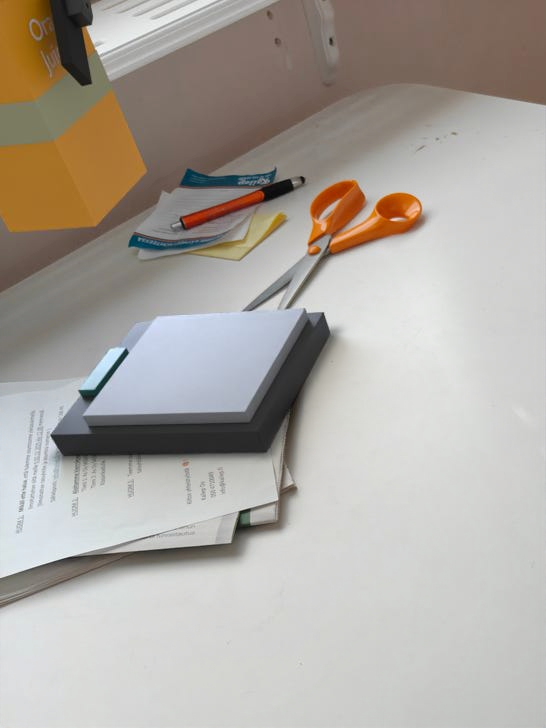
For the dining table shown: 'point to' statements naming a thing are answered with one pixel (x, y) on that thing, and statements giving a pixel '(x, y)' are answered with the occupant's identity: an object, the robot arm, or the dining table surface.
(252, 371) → the scale
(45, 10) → the orange juice
